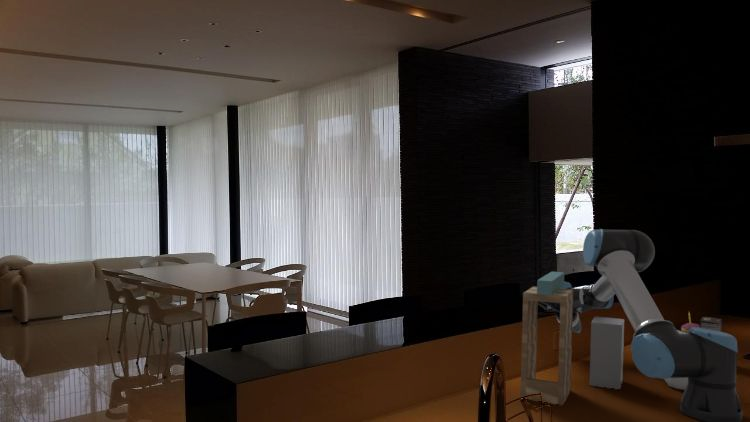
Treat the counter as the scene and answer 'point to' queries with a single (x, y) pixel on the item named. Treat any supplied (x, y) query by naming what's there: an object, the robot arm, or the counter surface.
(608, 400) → the counter surface
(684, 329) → the cupcake
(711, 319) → the coffee box
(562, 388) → the wooden stool frame
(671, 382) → the lidded bowl
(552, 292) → the teal block
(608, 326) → the stone block
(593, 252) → the robot arm
